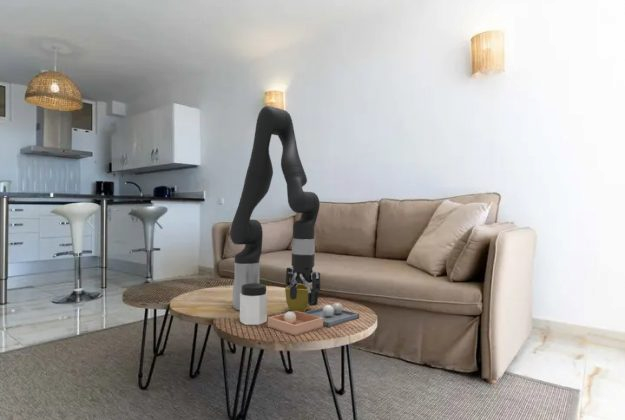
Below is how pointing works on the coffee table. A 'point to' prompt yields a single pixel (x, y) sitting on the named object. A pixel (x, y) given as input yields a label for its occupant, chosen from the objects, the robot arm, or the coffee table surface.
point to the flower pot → (298, 299)
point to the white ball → (290, 317)
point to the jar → (253, 304)
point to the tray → (334, 317)
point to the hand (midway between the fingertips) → (302, 301)
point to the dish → (296, 323)
